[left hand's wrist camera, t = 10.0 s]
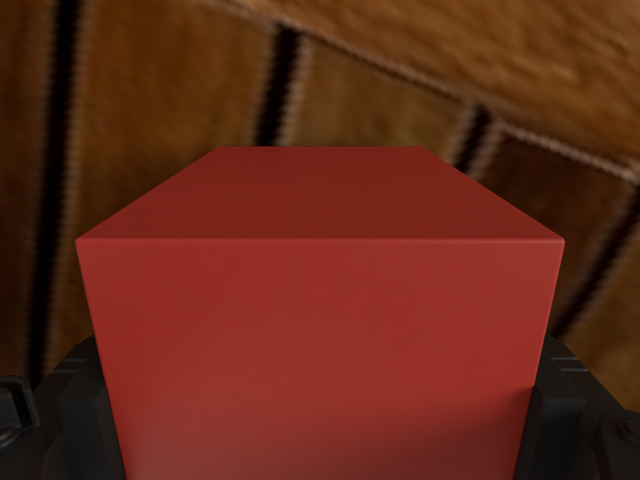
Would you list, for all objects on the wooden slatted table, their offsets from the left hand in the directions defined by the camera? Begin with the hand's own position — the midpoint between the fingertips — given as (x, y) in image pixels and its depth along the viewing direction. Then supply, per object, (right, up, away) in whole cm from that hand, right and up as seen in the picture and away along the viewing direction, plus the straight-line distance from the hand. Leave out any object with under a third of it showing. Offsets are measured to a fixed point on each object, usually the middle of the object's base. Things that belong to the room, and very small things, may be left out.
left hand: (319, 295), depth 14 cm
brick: (0, +2, +4) cm, 4 cm away
